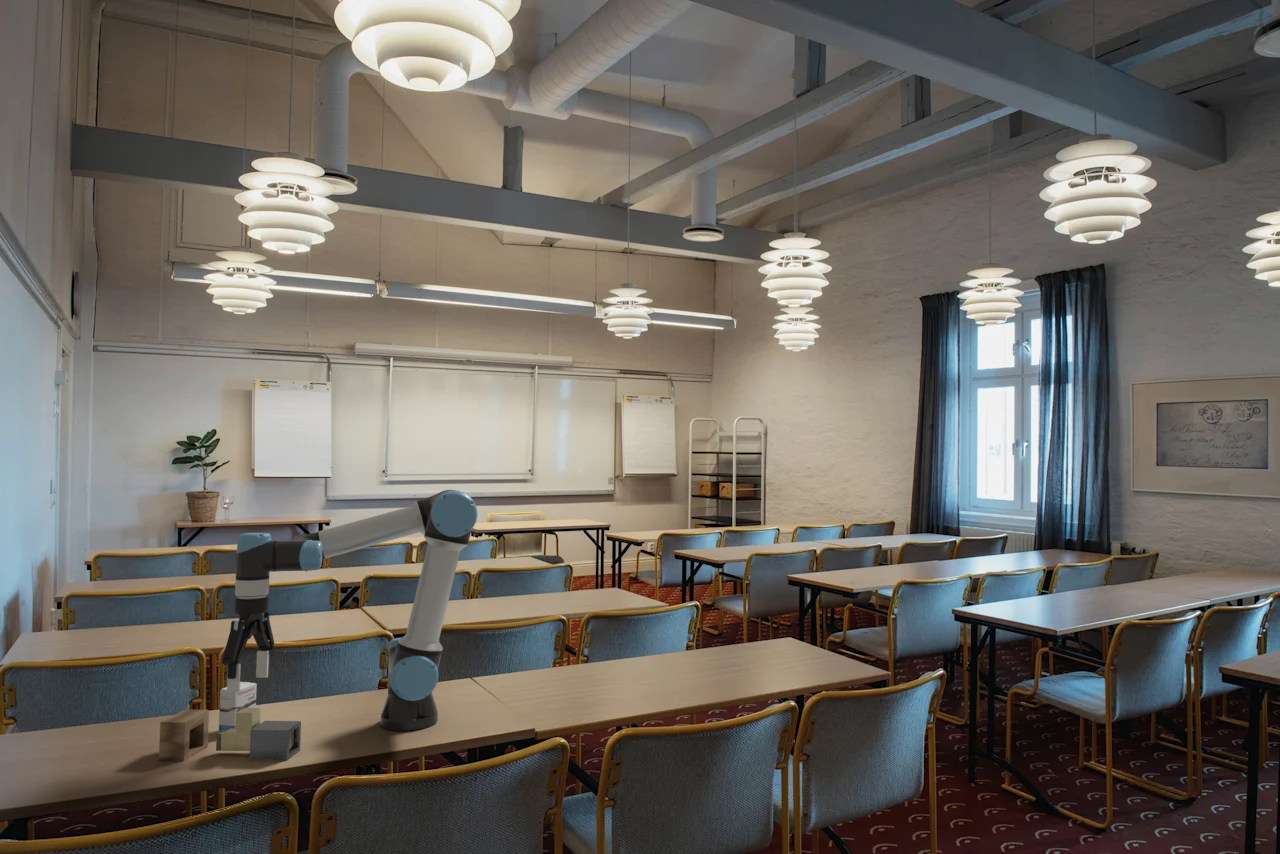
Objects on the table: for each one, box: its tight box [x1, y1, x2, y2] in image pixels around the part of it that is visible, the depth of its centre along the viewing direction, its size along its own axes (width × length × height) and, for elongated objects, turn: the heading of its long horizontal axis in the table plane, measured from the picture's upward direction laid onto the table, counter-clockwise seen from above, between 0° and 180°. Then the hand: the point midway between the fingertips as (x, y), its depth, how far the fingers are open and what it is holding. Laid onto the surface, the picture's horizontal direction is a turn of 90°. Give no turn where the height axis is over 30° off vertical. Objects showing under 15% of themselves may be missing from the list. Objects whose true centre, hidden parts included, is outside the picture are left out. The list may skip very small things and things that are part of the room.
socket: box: [158, 709, 210, 762], centre depth 194 cm, size 6×10×9 cm, turn 179°
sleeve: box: [249, 720, 302, 761], centre depth 193 cm, size 9×7×7 cm
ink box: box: [218, 681, 257, 733], centre depth 210 cm, size 8×5×12 cm, turn 168°
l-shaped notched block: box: [215, 707, 294, 752], centre depth 193 cm, size 17×4×9 cm, turn 89°
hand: (248, 684), depth 194 cm, fingers open, 13 cm apart
